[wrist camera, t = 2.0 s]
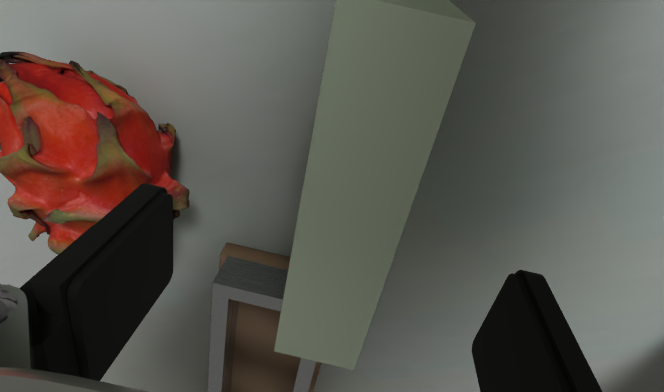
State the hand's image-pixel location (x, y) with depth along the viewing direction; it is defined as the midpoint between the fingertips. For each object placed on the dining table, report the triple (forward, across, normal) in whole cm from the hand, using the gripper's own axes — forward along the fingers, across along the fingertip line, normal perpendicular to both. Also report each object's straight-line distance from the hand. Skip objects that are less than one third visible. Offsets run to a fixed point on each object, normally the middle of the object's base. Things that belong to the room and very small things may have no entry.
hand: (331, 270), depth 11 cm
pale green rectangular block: (+12, 0, -1) cm, 12 cm away
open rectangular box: (+12, +3, +19) cm, 23 cm away
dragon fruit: (+12, +13, +4) cm, 18 cm away
